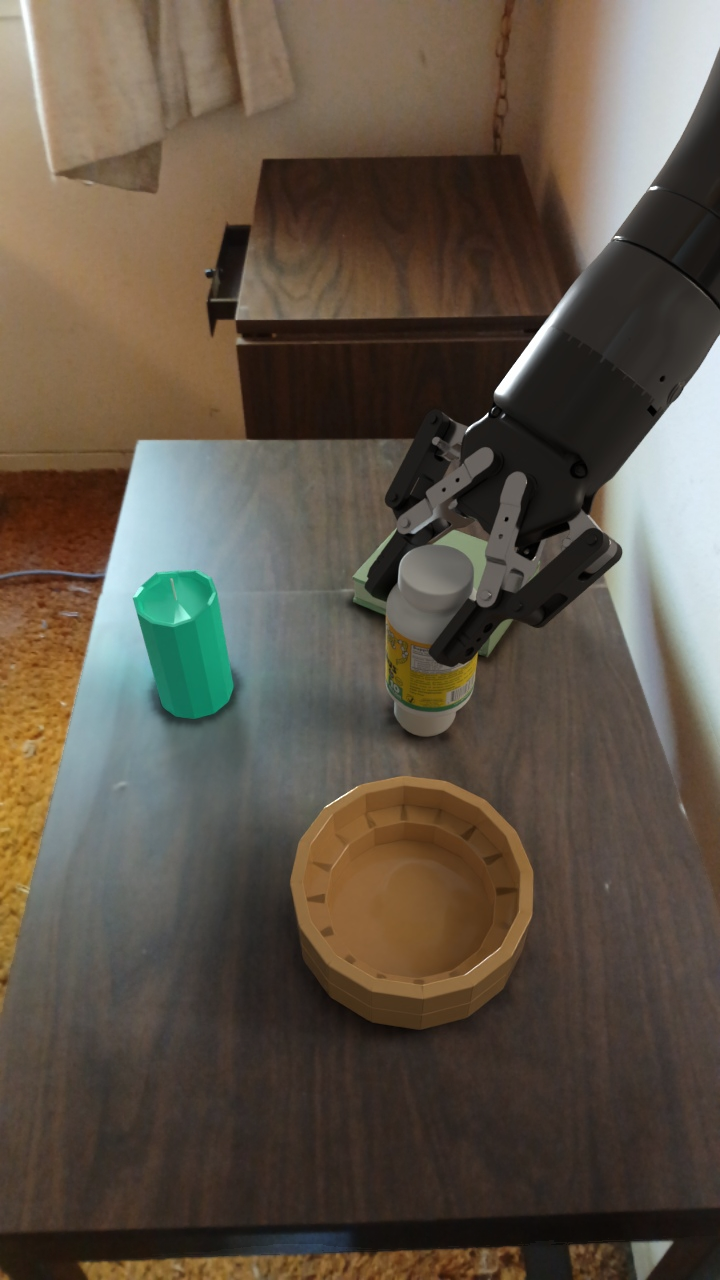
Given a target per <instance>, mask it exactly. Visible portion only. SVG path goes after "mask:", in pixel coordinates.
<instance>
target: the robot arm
mask: <svg viewBox="0 0 720 1280" xmlns="http://www.w3.org/2000/svg"><path fill="white" fill-rule="evenodd" d="M719 336H720V47H718V51H717V54H716V56H715V58H714V61H713V63H712V66H711V68H710V71H709V73H708V77H707V79H706V82H705V84H704V86H703V89H702V91H701V93H700V96H699V98H698V101H697V102H696V105H695V107H694V109H693V111H692V113H691V116H690V117H689V119H688V121H687V124H686V125H685V128H684V130H683V131H682V134H681V135H680V138H679V140H678V142H677V143H676V145H675V146H674V148H673V150H672V151H671V153H670V154H669V156H668V158H667V160H666V161H665V163H664V164H663V166H662V168H661V169H660V170H659V171H658V173H657V175H656V176H655V178H654V179H653V181H652V182H651V184H650V185H649V186H648V188H647V189H646V191H645V193H644V194H643V195H642V196H641V198H640V199H639V201H638V202H637V203H636V204H635V206H634V207H633V208H632V210H631V211H630V213H629V214H628V215H627V217H626V218H625V220H624V221H623V222H622V224H621V225H620V226H619V228H618V229H617V231H616V232H615V234H614V235H613V236H612V238H611V239H610V241H609V242H608V243H607V245H605V247H604V248H603V250H601V252H600V253H599V254H598V255H597V256H596V257H595V258H594V259H593V260H592V262H591V263H590V264H589V265H588V266H586V268H585V269H584V270H583V271H582V272H581V273H580V275H578V277H577V278H576V279H575V280H574V282H573V283H572V284H571V286H570V287H569V288H568V290H567V291H566V292H565V294H564V295H563V296H562V298H561V299H560V300H559V302H558V303H557V305H556V306H555V307H554V309H553V310H552V312H551V313H550V314H549V316H547V318H546V320H545V321H544V322H543V324H542V325H541V327H540V328H539V330H538V331H537V332H536V334H535V335H534V336H533V338H532V339H531V340H530V342H529V343H528V344H527V346H526V347H525V349H524V350H523V351H522V353H521V354H520V355H519V357H518V358H517V360H516V362H515V363H514V364H513V365H512V367H511V368H510V369H509V371H508V372H507V373H506V375H505V377H504V378H503V379H502V381H501V382H500V383H499V384H498V386H497V387H496V389H495V390H494V393H493V401H492V405H491V407H490V410H489V411H488V412H487V413H486V414H485V415H484V416H483V417H482V418H481V419H479V420H477V421H475V422H473V423H472V424H471V425H470V426H468V425H465V424H462V423H460V422H457V421H455V420H454V419H453V418H451V417H450V416H448V415H447V414H446V413H444V412H443V411H442V410H440V409H438V408H434V409H431V410H430V411H428V412H427V414H426V415H425V417H424V419H423V421H422V422H421V424H420V426H419V429H418V431H417V433H416V434H415V436H414V438H413V440H412V442H411V444H410V446H409V448H408V450H407V452H406V454H405V456H404V458H403V460H402V462H401V463H400V466H399V467H398V470H397V472H396V474H395V476H394V477H393V480H392V481H391V484H390V486H389V488H388V489H387V490H386V493H385V495H384V503H385V505H386V507H388V508H390V509H391V510H392V513H393V514H394V516H395V520H396V528H397V529H396V528H395V529H396V532H395V534H394V535H393V536H392V538H391V539H390V541H389V542H388V543H387V545H386V546H385V547H384V549H383V550H382V552H381V554H379V556H378V557H377V558H376V560H375V561H374V563H373V564H372V565H371V567H370V569H369V572H368V574H367V577H368V578H369V579H368V580H367V581H366V583H365V586H364V588H365V590H366V591H367V592H368V593H369V594H370V595H371V596H372V597H374V598H376V599H379V600H382V601H384V602H387V599H388V596H389V594H390V592H391V590H392V589H393V587H394V586H395V585H396V584H397V583H398V574H399V565H400V562H401V560H402V558H403V557H404V556H405V555H406V554H407V553H408V552H409V551H411V550H413V549H415V548H417V547H420V546H425V545H432V544H433V543H435V542H436V541H438V540H439V539H441V538H442V537H444V536H445V535H447V534H448V533H450V532H451V531H452V530H457V529H463V528H467V527H468V526H469V525H471V524H472V523H474V522H477V523H479V525H480V527H481V528H482V530H483V531H484V532H485V533H487V534H488V535H489V538H488V540H487V542H488V544H487V547H486V550H485V558H486V566H485V569H484V572H483V575H482V578H481V581H480V584H479V587H478V590H477V593H476V600H475V601H474V600H472V599H469V598H468V599H467V600H466V601H465V603H464V604H463V605H462V607H461V608H460V609H459V611H458V612H457V613H456V614H455V616H454V617H453V618H452V620H451V621H450V622H449V624H448V625H447V626H446V627H445V629H444V630H443V631H442V633H441V634H440V635H439V637H438V638H437V639H436V640H435V642H434V643H433V644H432V646H431V647H430V649H429V651H428V653H429V655H430V656H431V657H432V658H433V659H434V660H435V661H436V662H437V663H439V664H442V665H445V666H448V667H454V666H456V665H458V664H459V663H460V664H463V665H464V664H465V663H467V662H469V661H470V660H472V659H473V657H474V656H475V655H476V654H477V652H478V650H480V649H481V647H482V646H483V644H484V643H485V642H486V641H487V640H488V638H489V637H490V636H491V635H492V633H493V632H494V631H495V630H496V628H497V627H498V626H499V625H500V623H502V622H503V621H505V620H508V619H513V621H517V622H520V623H521V624H526V625H528V626H530V627H532V628H535V629H542V628H544V627H545V626H546V625H548V624H549V623H550V622H551V621H552V620H553V619H554V618H556V617H557V616H558V615H559V614H560V613H561V612H562V611H563V610H565V608H567V607H568V606H569V605H570V604H572V603H573V602H574V601H575V600H576V599H577V598H578V597H579V596H580V595H582V594H583V593H584V592H585V591H586V590H588V589H589V588H590V587H591V586H592V585H593V584H594V583H595V582H597V581H598V580H599V579H600V578H601V577H602V576H604V575H605V574H606V573H607V572H608V571H609V570H610V569H612V568H613V567H614V566H615V565H616V564H618V562H620V560H621V559H622V557H623V548H622V546H621V544H619V543H618V542H617V541H616V540H615V539H614V538H613V537H611V536H610V535H608V534H607V533H606V532H604V530H603V529H601V527H600V526H599V525H598V523H596V521H595V520H594V519H593V518H592V516H591V513H592V509H593V503H594V501H595V498H596V496H597V494H598V492H599V490H600V489H601V488H602V487H603V486H604V485H605V484H607V483H608V482H610V481H611V480H613V478H614V477H615V476H616V475H617V474H618V472H619V471H620V470H621V469H622V468H623V466H624V464H625V463H626V462H627V461H628V459H629V458H630V457H631V456H632V455H633V453H634V452H635V451H636V449H637V448H638V447H639V445H640V444H642V442H643V440H644V439H645V438H646V437H647V435H648V434H649V433H650V432H651V431H652V430H653V428H654V427H655V426H656V424H657V423H658V421H659V420H660V419H661V418H662V417H663V416H664V414H665V412H667V410H668V409H669V407H670V406H671V405H672V404H673V403H674V402H675V401H677V400H678V399H679V397H680V396H681V394H683V391H684V389H685V387H686V386H687V385H688V383H689V382H690V381H691V380H692V378H693V377H694V376H695V374H696V373H697V372H698V370H699V369H700V368H701V366H702V364H703V363H704V361H705V360H706V358H707V356H708V355H709V353H710V351H711V349H712V347H713V346H714V344H715V342H717V341H716V340H717V339H718V338H719ZM454 460H455V461H457V460H459V461H458V467H457V468H455V470H453V471H452V472H450V473H449V474H447V475H446V473H447V472H448V469H449V468H450V465H451V464H452V461H454ZM445 475H446V476H445ZM568 531H569V532H568ZM565 532H568V535H567V536H566V537H565V538H564V539H563V540H562V542H561V552H560V553H558V555H557V556H555V557H554V558H553V559H552V560H551V561H550V562H549V563H547V564H546V565H545V566H544V567H543V568H542V569H541V570H539V573H538V574H537V575H535V576H534V577H533V578H532V579H531V580H530V581H529V582H528V583H527V581H528V579H529V578H530V577H532V576H533V575H534V574H535V572H536V569H537V566H538V563H539V561H541V557H542V554H543V551H544V549H545V545H546V543H547V541H548V540H547V539H549V538H552V537H555V536H558V535H560V534H563V533H565ZM515 548H517V549H515Z"/></svg>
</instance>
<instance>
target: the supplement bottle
mask: <svg viewBox="0 0 720 1280" xmlns="http://www.w3.org/2000/svg"><path fill="white" fill-rule="evenodd" d="M473 581H474V567H473V564H472V562H471V560H470V559H469V558H468V557H467V556H466V555H465V554H464V553H462V552H461V551H459V550H457V549H455V548H453V547H449V546H445V545H425V546H420V547H417V548H415V549H413V550H411V551H409V552H408V553H407V554H406V555H405V556H404V557H403V558H402V560H401V562H400V565H399V574H398V583H397V584H396V585H395V586H394V587H393V589H392V590H391V592H390V594H389V596H388V599H387V603H386V615H385V686H386V690H387V693H388V695H389V696H390V698H391V699H392V701H394V702H396V703H397V704H398V705H399V706H400V707H401V708H402V709H403V710H405V711H407V712H409V713H411V714H413V715H416V716H421V717H442V716H446V715H449V714H451V713H454V712H456V713H457V711H459V710H460V709H462V708H463V707H464V706H465V705H466V704H467V703H468V702H469V701H470V699H471V696H472V694H473V693H474V692H473V691H474V687H475V681H476V672H477V664H478V655H479V654H478V652H477V654H476V655H475V656H474V657H473V659H472V660H470V661H469V662H467V663H465V664H464V665H463V664H460V663H459V664H458V665H456V666H454V667H448V666H445V665H442V664H439V663H437V662H436V661H435V660H434V659H433V658H432V657H431V656H430V655H429V653H428V651H429V649H430V647H431V646H432V644H433V643H434V642H435V640H436V639H437V638H438V637H439V635H440V634H441V633H442V631H443V630H444V629H445V627H446V626H447V625H448V624H449V622H450V621H451V620H452V618H453V617H454V616H455V614H456V613H457V612H458V611H459V609H460V608H461V607H462V605H463V604H464V603H465V601H466V600H467V599H468V598H469V599H472V600H474V601H475V600H476V593H477V591H476V590H475V588H474V587H473V586H474V582H473Z"/></svg>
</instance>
